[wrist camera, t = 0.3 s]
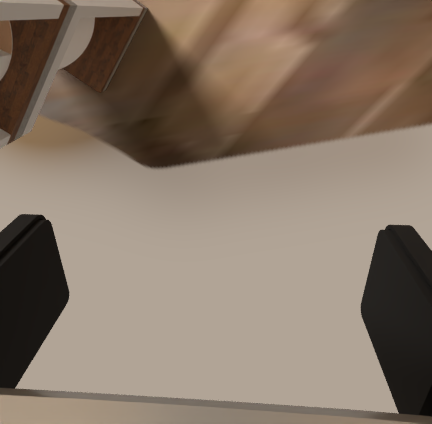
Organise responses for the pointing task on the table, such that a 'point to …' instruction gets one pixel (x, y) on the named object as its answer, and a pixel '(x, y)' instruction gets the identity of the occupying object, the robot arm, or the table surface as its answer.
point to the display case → (57, 51)
